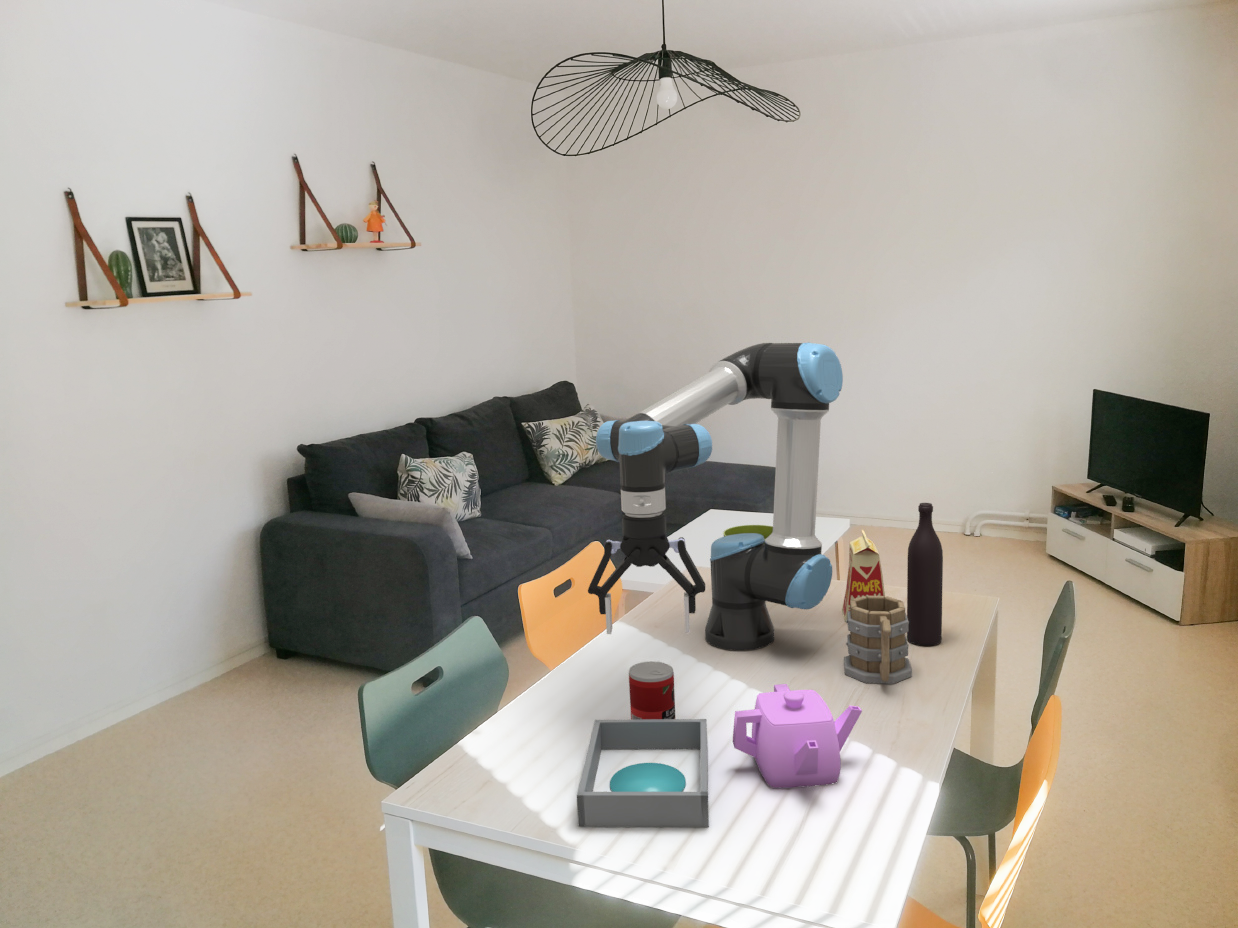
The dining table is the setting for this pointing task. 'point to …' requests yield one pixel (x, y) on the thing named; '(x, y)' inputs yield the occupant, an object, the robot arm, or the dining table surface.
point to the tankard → (877, 640)
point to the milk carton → (863, 572)
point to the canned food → (652, 691)
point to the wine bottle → (924, 582)
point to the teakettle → (794, 737)
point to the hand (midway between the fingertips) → (648, 631)
